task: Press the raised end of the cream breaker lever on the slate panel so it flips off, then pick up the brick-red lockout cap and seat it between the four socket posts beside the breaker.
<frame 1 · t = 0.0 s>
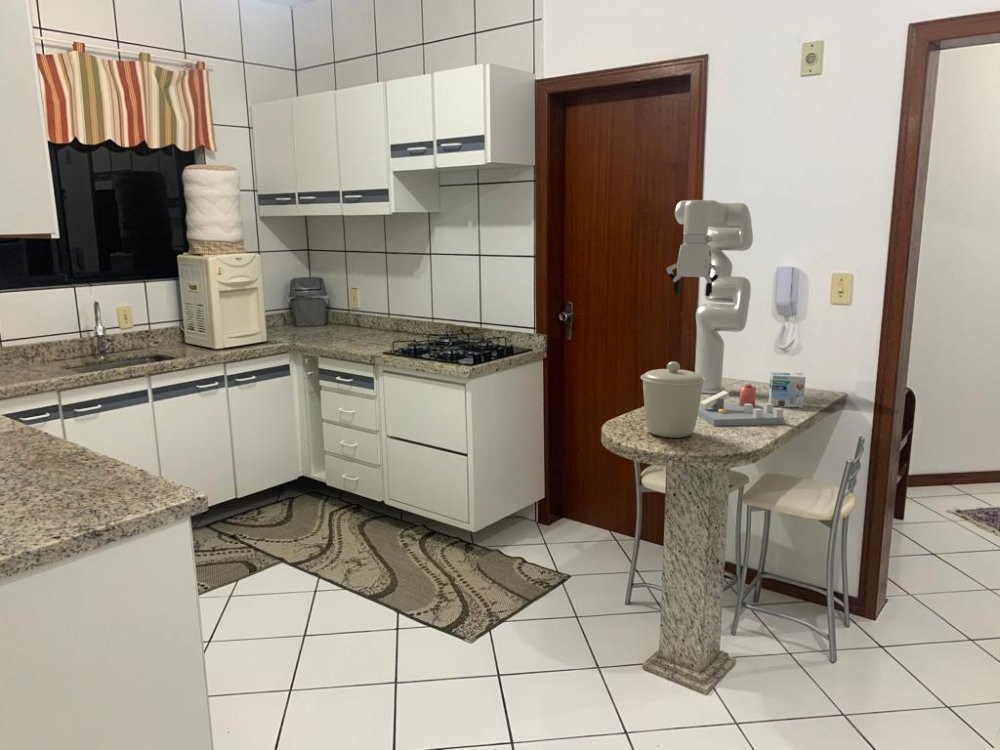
hand: (692, 295, 244), 37 cm above the countertop, tool pointing down, fingers open, 9 cm apart
light bulb box: (785, 406, 257), on the countertop
lockout cap: (747, 405, 248), point 2 cm above the countertop, touching panel
panel: (735, 417, 241), on the countertop
breaker lever: (717, 398, 242), point 6 cm above the countertop, hinge at 25.0°
canister: (670, 434, 222), on the countertop
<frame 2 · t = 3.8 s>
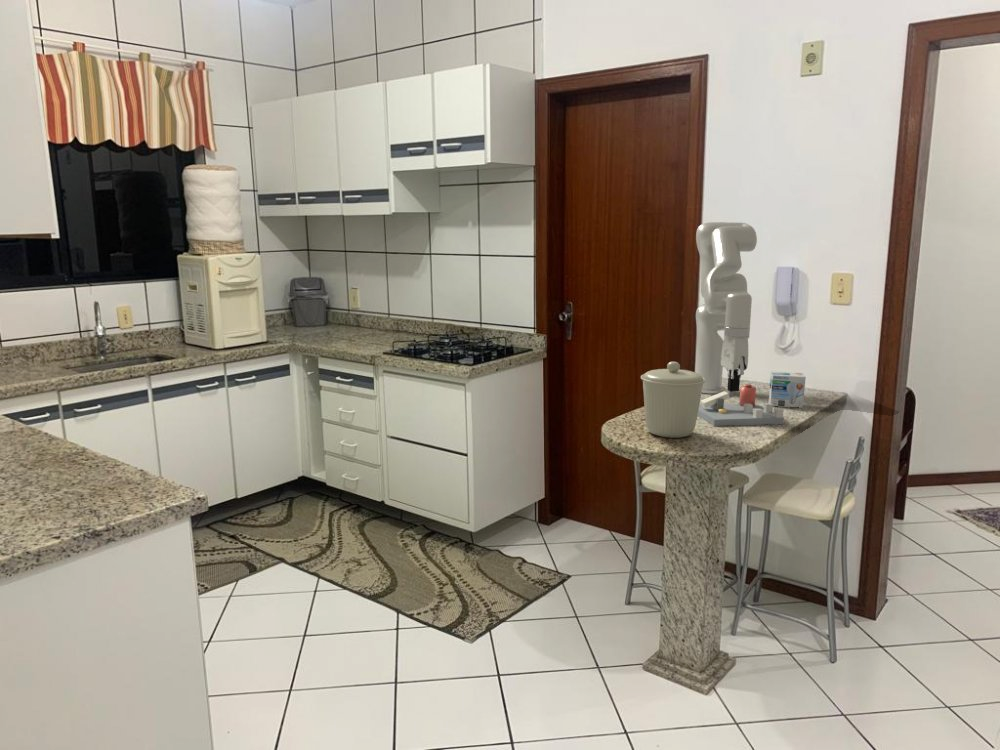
hand: (733, 390, 242), 8 cm above the countertop, tool pointing down, fingers closed
breaker lever: (717, 398, 242), point 6 cm above the countertop, hinge at 20.8°, touching gripper
everything else where it was.
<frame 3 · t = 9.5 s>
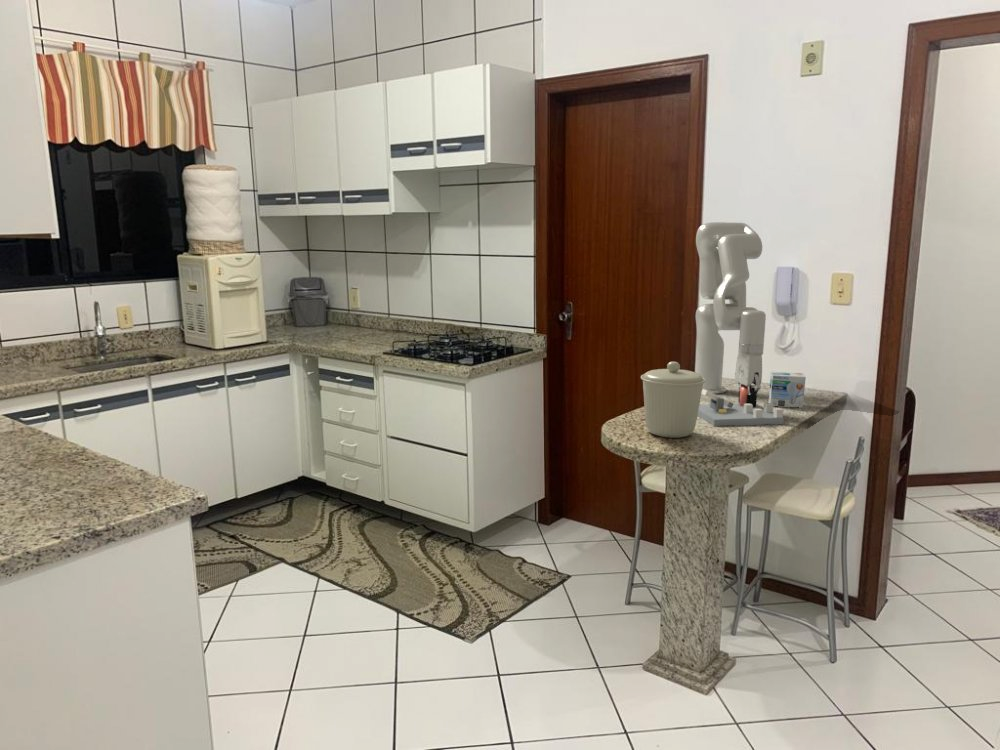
hand: (747, 404, 248), 2 cm above the countertop, tool pointing down, fingers closed on lockout cap, 4 cm apart
lockout cap: (747, 405, 248), point 2 cm above the countertop, touching gripper, panel
breaker lever: (717, 398, 242), point 6 cm above the countertop, hinge at -25.9°
everything else where it was.
when the fingers open (4 cm above the countertop, at t = 14.9 s): lockout cap drops 1 cm, resting on panel.
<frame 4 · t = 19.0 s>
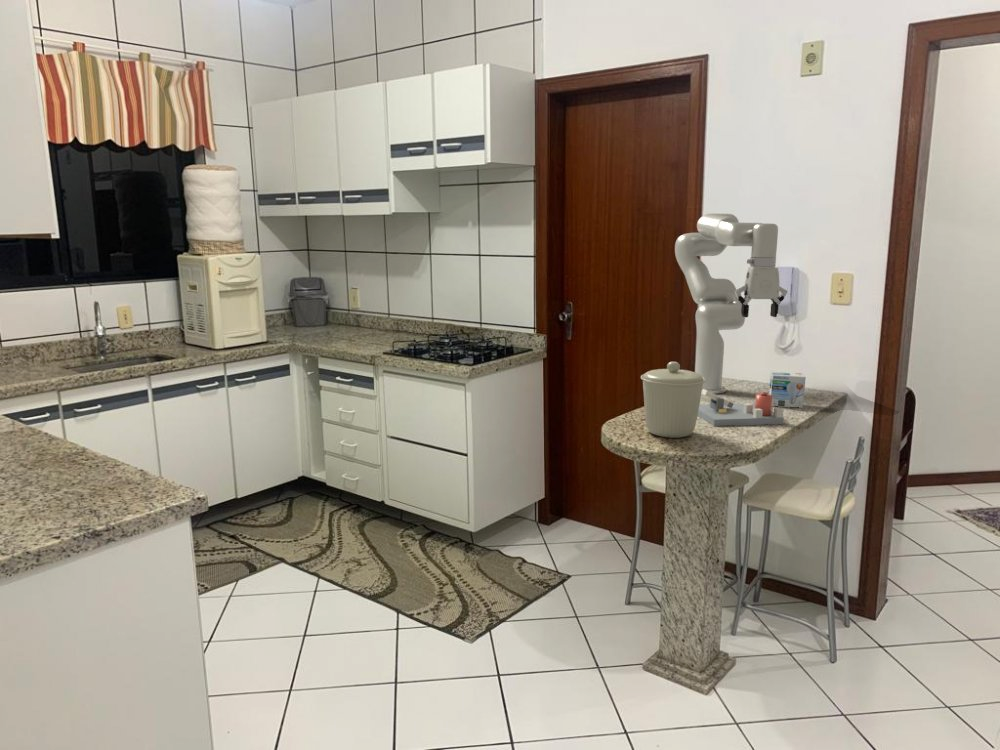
hand: (759, 316, 247), 30 cm above the countertop, tool pointing down, fingers open, 9 cm apart
lockout cap: (762, 414, 236), point 2 cm above the countertop, touching panel
everything else where it was.
at the end: breaker lever at -26° (first picture: +25°); lockout cap 0.1 cm from the target spot, point 2.0 cm above the countertop; lockout cap tilted 0° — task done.
